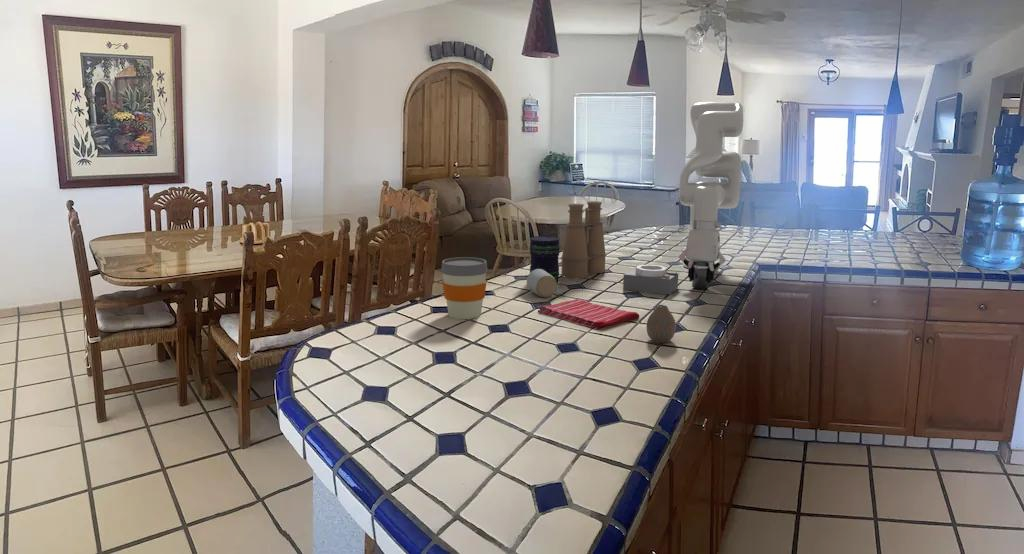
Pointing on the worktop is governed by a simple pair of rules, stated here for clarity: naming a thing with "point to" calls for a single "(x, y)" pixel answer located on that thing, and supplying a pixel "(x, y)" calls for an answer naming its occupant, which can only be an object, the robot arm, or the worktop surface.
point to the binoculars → (584, 242)
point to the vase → (661, 325)
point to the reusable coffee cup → (464, 286)
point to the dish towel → (588, 314)
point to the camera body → (651, 279)
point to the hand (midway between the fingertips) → (700, 280)
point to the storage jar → (545, 254)
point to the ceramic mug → (542, 283)
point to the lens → (700, 274)
